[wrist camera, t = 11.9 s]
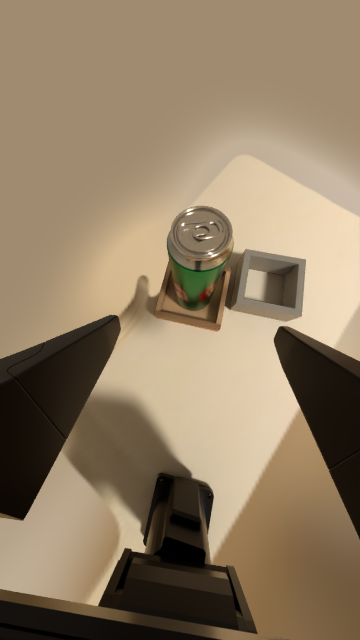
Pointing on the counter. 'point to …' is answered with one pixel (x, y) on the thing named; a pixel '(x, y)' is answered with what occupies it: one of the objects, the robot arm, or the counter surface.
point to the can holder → (277, 265)
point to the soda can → (198, 254)
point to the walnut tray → (201, 318)
